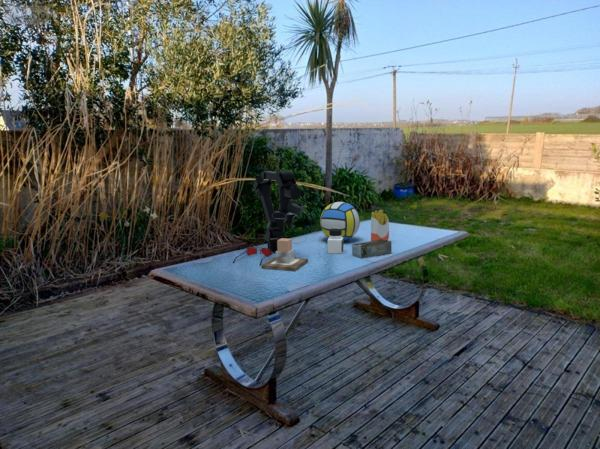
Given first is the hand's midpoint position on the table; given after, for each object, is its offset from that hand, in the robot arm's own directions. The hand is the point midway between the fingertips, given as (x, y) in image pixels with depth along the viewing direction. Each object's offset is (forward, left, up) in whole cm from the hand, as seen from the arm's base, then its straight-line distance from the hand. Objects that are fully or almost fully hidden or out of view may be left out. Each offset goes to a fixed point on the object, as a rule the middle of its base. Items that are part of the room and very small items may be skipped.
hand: (286, 230), depth 204 cm
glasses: (-13, -10, -14) cm, 21 cm away
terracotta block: (+5, -14, -6) cm, 16 cm away
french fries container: (+38, +41, -13) cm, 57 cm away
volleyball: (+15, +43, -13) cm, 47 cm away
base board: (+5, -14, -13) cm, 20 cm away
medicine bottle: (+20, +16, -13) cm, 29 cm away
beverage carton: (+38, +16, -14) cm, 44 cm away
